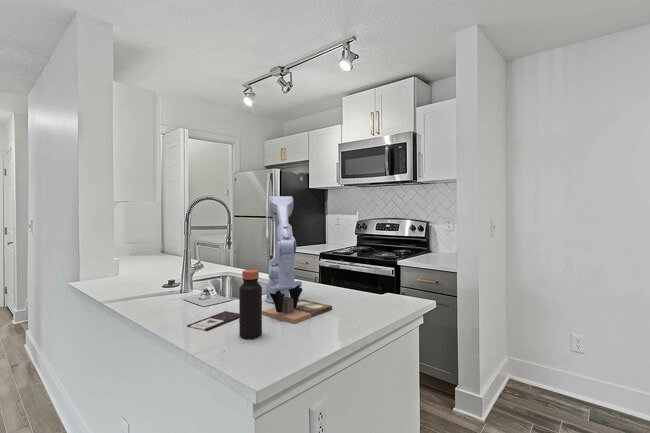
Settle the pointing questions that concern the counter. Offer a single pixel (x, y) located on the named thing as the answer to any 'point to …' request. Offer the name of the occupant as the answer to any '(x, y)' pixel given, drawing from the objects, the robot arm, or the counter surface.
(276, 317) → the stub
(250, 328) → the bottle
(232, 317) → the chocolate bar
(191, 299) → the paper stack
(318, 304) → the board
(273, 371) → the counter surface
